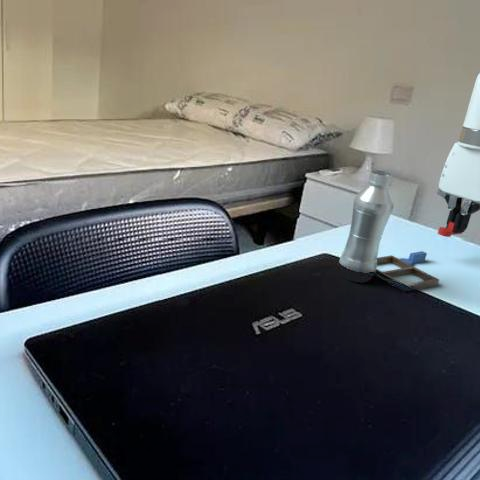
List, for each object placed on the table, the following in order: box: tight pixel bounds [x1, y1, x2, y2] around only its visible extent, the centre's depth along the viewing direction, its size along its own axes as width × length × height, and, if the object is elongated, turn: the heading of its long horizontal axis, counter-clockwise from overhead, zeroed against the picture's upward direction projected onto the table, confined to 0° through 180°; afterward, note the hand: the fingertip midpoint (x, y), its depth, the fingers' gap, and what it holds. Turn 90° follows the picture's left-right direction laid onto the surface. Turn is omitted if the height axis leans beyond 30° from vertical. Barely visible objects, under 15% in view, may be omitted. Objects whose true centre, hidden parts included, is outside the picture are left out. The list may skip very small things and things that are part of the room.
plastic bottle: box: [338, 169, 395, 273], centre depth 87 cm, size 6×7×20 cm
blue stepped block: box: [399, 250, 428, 266], centre depth 99 cm, size 6×2×2 cm, turn 116°
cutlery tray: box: [375, 255, 440, 291], centre depth 92 cm, size 9×11×2 cm
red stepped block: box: [437, 222, 463, 238], centre depth 99 cm, size 6×2×2 cm, turn 116°
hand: (454, 230), depth 100 cm, fingers closed on red stepped block, 1 cm apart
